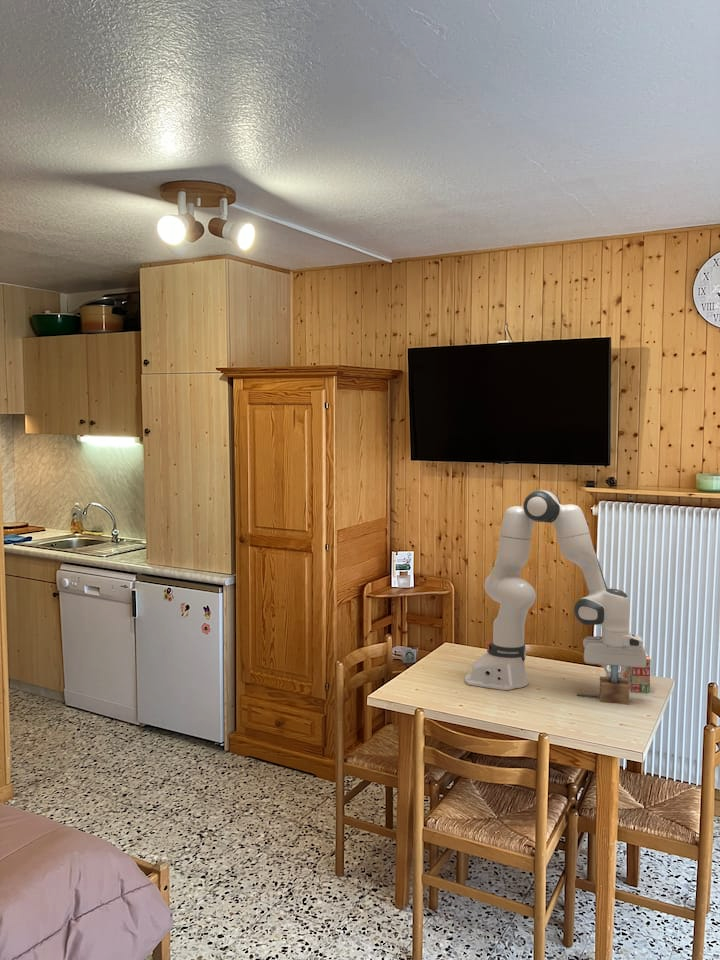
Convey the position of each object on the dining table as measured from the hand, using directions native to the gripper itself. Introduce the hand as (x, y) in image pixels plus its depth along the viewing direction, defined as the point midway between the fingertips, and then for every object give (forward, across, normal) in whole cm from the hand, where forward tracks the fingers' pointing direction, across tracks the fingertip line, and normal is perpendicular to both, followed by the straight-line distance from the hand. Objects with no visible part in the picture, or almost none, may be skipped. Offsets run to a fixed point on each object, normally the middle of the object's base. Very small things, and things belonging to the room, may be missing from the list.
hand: (614, 677), depth 264 cm
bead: (+7, 0, 0) cm, 7 cm away
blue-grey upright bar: (+4, 0, 0) cm, 4 cm away
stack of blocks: (+8, +8, +20) cm, 23 cm away
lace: (+7, -8, 0) cm, 11 cm away
